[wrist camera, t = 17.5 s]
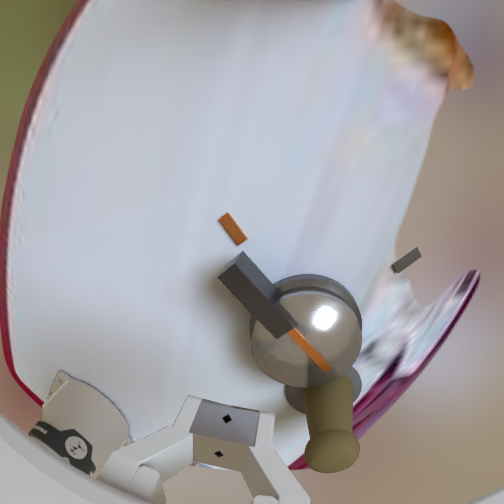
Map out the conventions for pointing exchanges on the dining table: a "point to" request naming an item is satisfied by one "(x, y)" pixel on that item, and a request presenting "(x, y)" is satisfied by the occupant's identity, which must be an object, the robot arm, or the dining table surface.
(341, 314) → the saucepan
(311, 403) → the cork
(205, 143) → the dining table surface
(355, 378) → the coaster
